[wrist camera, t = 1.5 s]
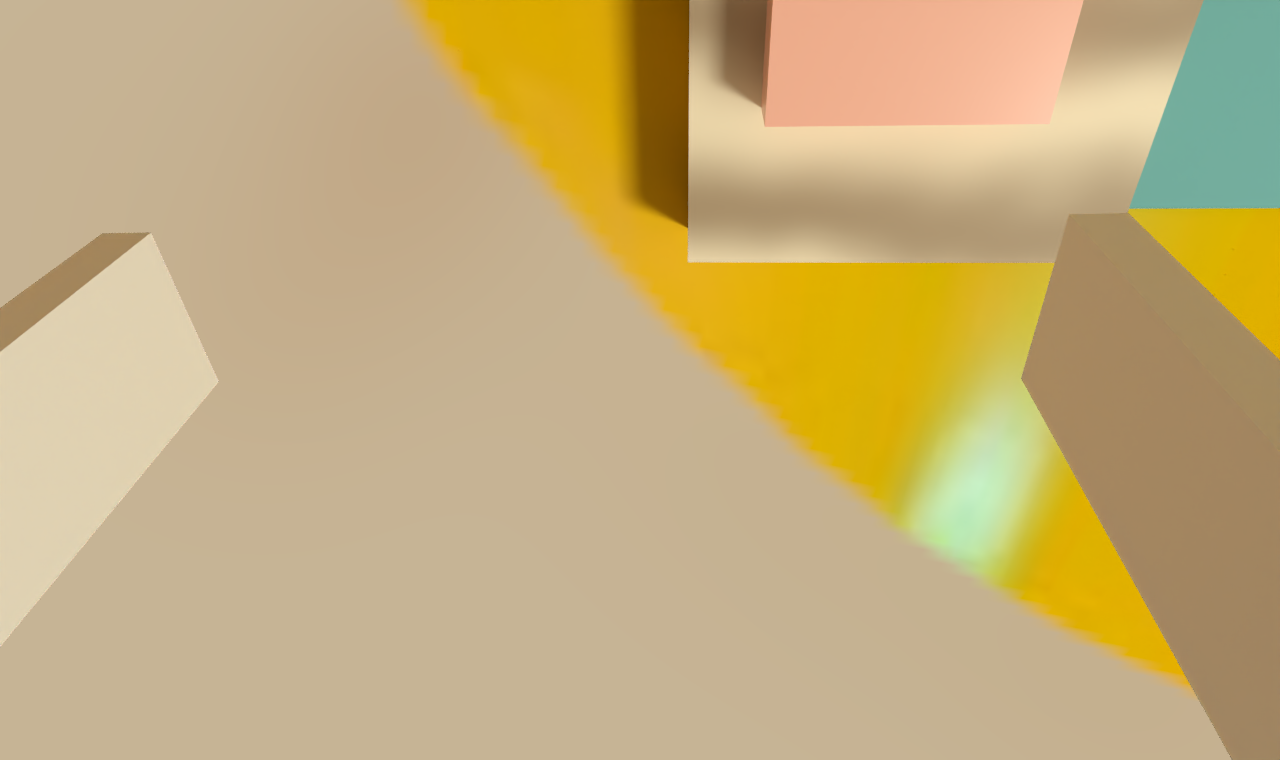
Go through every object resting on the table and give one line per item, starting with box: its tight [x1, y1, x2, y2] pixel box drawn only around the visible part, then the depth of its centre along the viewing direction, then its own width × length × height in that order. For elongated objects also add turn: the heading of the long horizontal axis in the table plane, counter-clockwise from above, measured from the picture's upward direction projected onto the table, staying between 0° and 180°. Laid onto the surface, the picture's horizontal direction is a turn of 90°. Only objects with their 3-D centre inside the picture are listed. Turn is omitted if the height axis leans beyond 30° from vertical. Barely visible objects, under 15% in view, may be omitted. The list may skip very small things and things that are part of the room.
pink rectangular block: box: [761, 0, 1084, 127], centre depth 25 cm, size 9×6×2 cm, turn 92°
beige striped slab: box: [688, 0, 1204, 263], centre depth 26 cm, size 18×16×3 cm
